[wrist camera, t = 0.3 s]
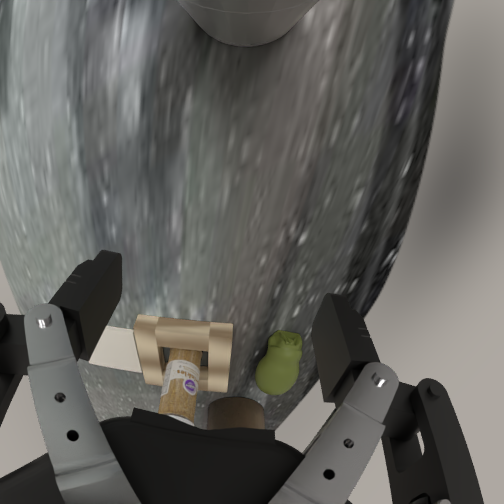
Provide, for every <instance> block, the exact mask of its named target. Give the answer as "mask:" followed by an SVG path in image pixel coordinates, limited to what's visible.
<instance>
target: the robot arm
mask: <svg viewBox="0 0 504 504" xmlns="http://www.w3.org/2000/svg"><path fill="white" fill-rule="evenodd" d="M177 1H178V2H179V4H180V5H181V6H182V7H183V8H184V9H185V10H186V11H187V12H188V14H189V15H190V16H191V17H192V18H193V19H194V20H195V22H196V23H197V24H198V25H199V26H200V27H201V28H202V29H203V30H204V31H205V32H206V33H207V34H208V35H209V36H211V37H213V38H214V39H216V40H218V41H220V42H223V43H225V44H228V45H233V46H239V47H254V46H259V45H264V44H267V43H270V42H272V41H275V40H276V39H278V38H280V37H281V36H283V35H284V34H285V33H287V32H288V31H289V30H290V29H291V28H292V27H293V26H294V25H295V24H296V23H297V22H298V21H299V20H300V19H301V18H302V17H303V16H304V15H305V14H306V13H307V12H308V11H309V10H310V9H311V8H312V7H313V6H314V5H315V4H316V3H317V2H318V1H319V0H177ZM121 294H122V256H121V254H120V253H116V252H111V251H106V250H101V251H100V253H99V254H98V255H97V256H96V258H95V259H94V260H93V261H92V260H87V261H85V262H83V263H81V264H80V265H78V266H77V267H76V268H75V270H74V271H73V272H72V273H71V275H70V276H69V277H68V278H67V280H66V282H64V283H63V285H62V286H61V287H60V288H59V290H58V291H57V292H56V294H55V295H54V296H53V298H52V299H51V300H50V302H49V303H48V304H39V305H36V306H34V307H32V308H31V309H29V310H28V311H27V313H26V314H25V315H13V314H6V311H5V308H4V306H3V305H2V304H1V303H0V426H1V424H2V422H3V419H4V417H5V414H6V412H7V409H8V407H9V405H10V403H11V401H12V398H13V396H14V394H15V392H16V390H17V387H18V385H19V383H20V381H21V379H22V377H23V375H28V376H29V382H30V387H31V391H32V396H33V400H34V405H35V409H36V413H37V417H38V421H39V424H40V428H41V431H42V435H43V438H44V441H45V445H46V448H47V451H48V453H46V454H44V455H42V456H41V457H39V458H37V459H35V460H33V461H32V462H30V463H28V464H26V465H24V466H23V467H21V468H19V469H17V470H15V471H13V472H11V473H9V474H8V475H6V476H4V477H2V478H0V504H352V503H351V502H350V501H349V500H348V497H349V496H350V494H351V492H352V490H353V489H354V487H355V486H356V484H357V482H358V480H359V479H360V477H361V475H362V473H363V471H364V470H365V468H366V466H367V464H368V462H369V460H370V458H371V456H372V454H373V452H374V450H375V448H376V446H377V444H378V442H379V440H380V438H381V440H382V444H383V450H384V455H385V460H386V466H387V471H388V477H389V483H390V489H391V495H392V502H393V504H484V502H483V498H482V494H481V490H480V487H479V483H478V479H477V476H476V473H475V469H474V466H473V463H472V460H471V456H470V453H469V450H468V447H467V444H466V441H465V438H464V435H463V432H462V430H461V427H460V424H459V421H458V419H457V416H456V413H455V411H454V408H453V406H452V403H451V401H450V398H449V396H448V393H447V391H446V389H445V388H444V387H443V385H442V384H440V383H439V382H438V381H436V380H434V379H429V378H426V379H423V380H421V381H420V382H419V384H418V385H417V386H412V385H409V384H406V383H402V382H399V380H398V377H397V375H396V373H395V372H394V371H393V370H392V369H391V368H390V367H389V366H387V365H385V364H383V363H381V362H380V360H379V357H378V355H377V352H376V349H375V347H374V344H373V342H372V339H371V338H370V334H369V332H368V330H367V327H366V324H365V322H364V319H363V318H362V317H361V316H360V314H359V313H358V312H357V311H356V310H353V309H351V307H350V304H349V302H348V299H347V297H346V296H344V295H338V294H331V293H327V294H326V295H325V297H324V299H323V301H322V304H321V306H320V308H319V311H318V313H317V315H316V318H315V320H314V322H313V325H312V331H311V337H312V342H313V347H314V352H315V357H316V362H317V367H318V373H319V378H320V383H321V389H322V394H323V399H324V402H331V403H335V406H336V408H335V409H334V411H333V412H332V413H331V415H330V416H329V418H328V419H327V421H326V422H325V424H324V425H323V426H322V428H321V429H320V430H319V432H318V433H317V435H316V436H315V437H314V439H313V440H312V441H311V443H310V444H309V445H308V446H307V448H306V449H305V450H304V451H303V453H301V452H299V451H298V450H297V449H295V448H293V447H292V446H289V445H288V444H286V443H283V442H281V441H278V440H275V430H267V429H255V428H245V427H235V428H225V429H212V430H203V429H199V428H197V427H194V426H192V425H189V424H187V423H185V422H182V421H180V420H178V419H175V418H173V417H171V416H168V415H164V414H159V413H155V412H151V411H146V410H142V409H138V408H134V409H133V413H132V416H126V417H116V418H111V419H107V420H104V421H101V422H99V421H98V419H97V416H96V414H95V412H94V409H93V407H92V404H91V401H90V399H89V396H88V394H87V391H86V388H85V385H84V383H83V380H82V377H81V374H80V371H79V368H78V365H77V361H78V359H79V358H80V359H83V360H86V361H89V360H90V358H91V356H92V354H93V352H94V350H95V348H96V346H97V344H98V342H99V340H100V338H101V336H102V334H103V332H104V330H105V328H106V326H107V324H108V322H109V320H110V318H111V316H112V314H113V312H114V310H115V308H116V306H117V305H118V303H119V301H120V298H121ZM419 431H420V432H421V436H422V439H423V443H424V454H423V456H422V452H421V448H420V444H419V440H418V437H417V433H418V432H419Z"/></svg>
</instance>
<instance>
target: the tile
mask: <svg viewBox="0 0 504 504" xmlns="http://www.w3.org/2000/svg"><path fill="white" fill-rule="evenodd" d="M89 363H90V364H95V365H100V366H105V367H110V368H116V369H122V370H127V371H133V372H140V373H142V371H143V370H142V366H141V362H140V357H139V353H138V349H137V344H136V339H135V335H134V330H132V329H125V328H118V327H112V326H106V328H105V330H104V332H103V334H102V336H101V338H100V340H99V342H98V344H97V346H96V348H95V350H94V352H93V354H92V356H91V358H90V360H89Z"/></svg>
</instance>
